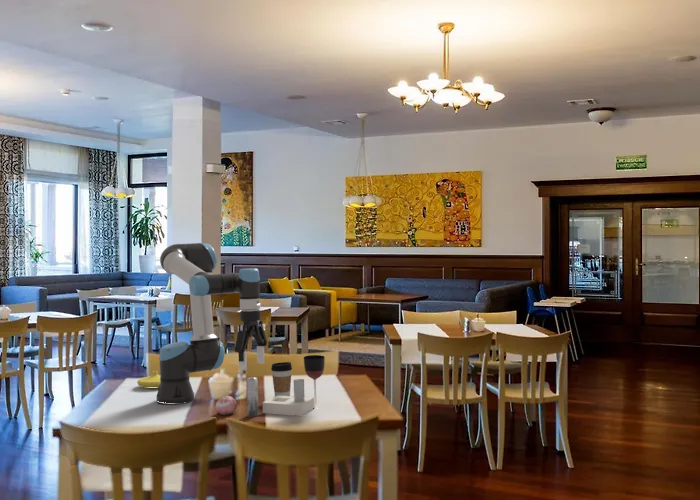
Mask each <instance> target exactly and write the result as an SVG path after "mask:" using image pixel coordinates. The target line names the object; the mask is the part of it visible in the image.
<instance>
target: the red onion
mask: <svg viewBox="0 0 700 500" xmlns="http://www.w3.org/2000/svg"><path fill="white" fill-rule="evenodd" d="M237 405H238V404H237V401H236V399H235V398H234V397H232V396H230V395H227V394H226V395H224V396H222V397H220V398H219V399H218V400H217V401H216V403H215V410H216V414H217V415H221V416H230V415H232V414H233V413H235V411H236V409H237V407H238V406H237Z"/></svg>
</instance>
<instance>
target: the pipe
mask: <svg viewBox="0 0 700 500" xmlns="http://www.w3.org/2000/svg"><path fill="white" fill-rule="evenodd" d="M258 385H259V384H258V377H257V376H250V377H246V397H247V398H246V403H247V404H246V406H247V408H246V409H247V417H248V418H249V417H251V418H253V417H258V416H259V392H258V391H259V390H258V389H259V387H258Z"/></svg>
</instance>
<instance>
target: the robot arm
mask: <svg viewBox="0 0 700 500" xmlns="http://www.w3.org/2000/svg"><path fill="white" fill-rule="evenodd" d="M159 263H160V266H161V268H162V269H163V270H164V272H166V273H167V274H170V275H175V276H177V278H179V279H181V280H182V282H184V283H185V284H187V285H188V287H189V297H190V298H189V299H190V311H191V324H192V335H193V336H192V337H191V338H190V340H189V343H190V344H189V343H188V342H187V341H178V342H176V341H175V342H172V343H168V344H166V345H163V346H162V347H160V349H159V357H158V359H159V375H160V386H159V388H157V389H158V391H157V394H156V402H157V401H159V402H164V403H165V402H166V403H182V404H185V403H184V402H187V403H190V402H192V401H194V400H195V392H194V390H193V387H192V383H191V382H190V374H192V373H200V372H205V371H206V372H207V371H213V370H217V369H219V368H220V367H221V366H222V365H223V363H224V359H225V347H224V343H223V342H222V341H221V340H219V337H218V336H217V335H216V334H215V329H214V319H213V307H212V298H211V297H212V296H211V295H213V296H214V295H224V294H225V295H226V294H227V295H228V294H239V309H240V313H239V315H240V316H239V317H240V321H241V322H243V324H238V332H237V337H236V340H235V341H236V342H235V347H234V352H235V353H238V370H239V371H247V352H246V348H247V346H248V343H249V340H250V338H251V337H253V338H254V341H255V342H256V344H257V346H256V363H257V364H261V365H263V364H265V347H266V346H267V343H268V340H267V337H266V334H265V330H264V326H263V321H262V320H261V318H262V316H261V314H262V313H261V310H260V309H261V303H262V302H261V285H260V282H261V281H260V280H261V277H260V271H259V269H258V268H256V267H255V268H251V267H250V268H240V269H239V271H238V272H230V273H220V274H217V273H216V274H213V271H214V270H215V269H217V263H218V259H217V254H216V250H215V249H214V247H213V246H212V245H211V244H210V243H206V242H205V243H203V242H197V243H196V242H195V243H194V242H193V243H176V244H175V243H174V244H172V245H169V246H168V247H167V246H166V248H165V249H164V250H163V251H162V252H161V254H160V258H159ZM189 401H190V402H189Z"/></svg>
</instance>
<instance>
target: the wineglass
mask: <svg viewBox="0 0 700 500" xmlns="http://www.w3.org/2000/svg"><path fill="white" fill-rule="evenodd" d="M325 360H326V359H325V356H324V355H319V354H317V355H316V354H312V355H311V354H309V355H305V356H303V365H304V366H303V367H304V371H305V373H306V376H307V377H309V378H310V379H312V380H313V396H314V397H313V398H314V406H315V407H317V382H316V381H317V379H319V378H320V377H322V376H323V374H324V370H325V362H326V361H325Z"/></svg>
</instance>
